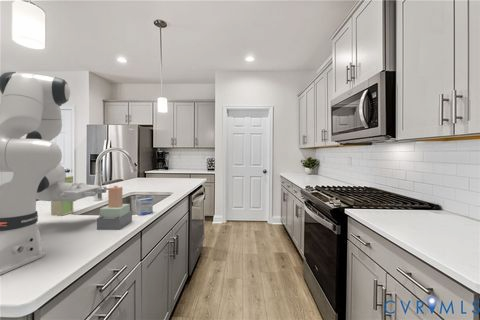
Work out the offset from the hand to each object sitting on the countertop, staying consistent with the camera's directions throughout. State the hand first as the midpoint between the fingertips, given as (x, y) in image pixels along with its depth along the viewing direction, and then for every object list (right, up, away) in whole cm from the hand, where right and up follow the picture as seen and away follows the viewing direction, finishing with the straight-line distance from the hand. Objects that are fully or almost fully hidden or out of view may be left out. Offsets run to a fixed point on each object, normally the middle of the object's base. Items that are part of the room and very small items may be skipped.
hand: (100, 192), depth 117 cm
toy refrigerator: (-32, -15, +19) cm, 40 cm away
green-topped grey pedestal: (+7, -16, +1) cm, 17 cm away
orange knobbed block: (+7, -7, 0) cm, 10 cm away
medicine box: (+12, -15, +23) cm, 30 cm away
